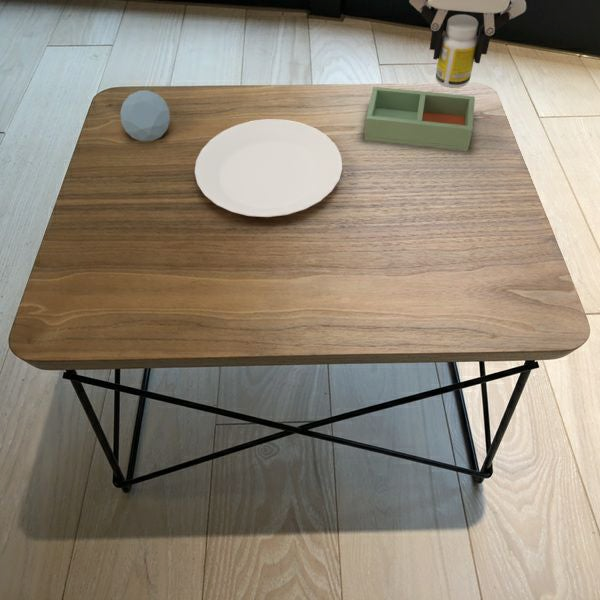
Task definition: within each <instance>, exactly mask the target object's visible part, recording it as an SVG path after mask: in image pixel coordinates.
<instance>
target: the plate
mask: <svg viewBox="0 0 600 600" xmlns="http://www.w3.org/2000/svg"><path fill="white" fill-rule="evenodd" d="M343 169H344V167H343V159H342V154H341V152H340V149H339V148H338V146H337V144H336V143H335V142H334V141H333V140H332V139H331V138H330V137H329V136H328V135H327V134H325V133H324V132H322V131H321V130H319V129H318V128H316V127H313V126H310V125H309V124H306V123H304V122H299V121H294V120H290V119H283V118H265V119H264V118H263V119H256V120H250V121H246V122H242V123H239V124H236V125H233V126H231V127H228V128H226V129H225V130H222V131H221V132H219V133H218V134H217V135H214V137H212V138H210V140H208V142H207V143H206V144H205V145H204V147H202V148H201V150H200V152H199V154H198V156H197V158H196V159H195V166H194V177H195V180H196V184H197V186H198V187H199V189H200V190H201V192H202V193H203V195H204V196H205V197H206V198H208V200H209V201H211V202H212V203H213V204H215V205H216V206H218V207H220V208H222V209H224V210H227V211H229V212H231V213H234V214H238V215H243V216H247V217H258V218H272V217H281V216H288V215H293V214H295V213H297V212H301V211H305V210H307V209H309V208H310V207H312V206H314V205H316V204H318V203H320V202H321V201H322V200H323V199H325V198H326V197H327V196H328V195H329V194H331V193H332V192H333V190H334V188H335V187H336V186H337V184H338V182H339V181H340V179H341V175H342V172H343Z"/></svg>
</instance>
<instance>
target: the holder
mask: <svg viewBox="0 0 600 600" xmlns="http://www.w3.org/2000/svg"><path fill="white" fill-rule="evenodd" d="M475 99H476V97H475V96H471V95H463V94H454V93H452V94H451V93H443V92H431V91H424V90H423V91H421V90H413V89H402V88H401V89H400V88H391V87H382V86H381V87H380V86H373V87H372V91H371V95H370V99H369V104H368V108H367V111H366V117H365V126H364V127H365V128H364V138H363V139H364V141H373V142H381V143H392V144H399V145H400V144H401V145H409V146H418V147H427V148H437V149H445V150H453V151H454V150H455V151H462V152H468V151H469V147H470V144H471V139H472V136H473V130H474V117H475V116H474V115H475Z"/></svg>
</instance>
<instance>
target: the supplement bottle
mask: <svg viewBox="0 0 600 600" xmlns="http://www.w3.org/2000/svg"><path fill="white" fill-rule="evenodd" d="M478 27H479V21H478V20H477V18H476V17H474V16H473V15H468V14H455V15H452V16H450V17H449V18H448V19H447V23H446V27H445V32H443V36H442V42H441V48H440V54H439V59H437V65H436V66H437V67H436V72H435V80H436V82H437V83H438V84H439V85H441V86H443V87H445V88H448V89H449V88H450V89H460V88H463V87H465V86H467V85H468V84H469V82H470V81H471V77H472V72H473V67H474V63H475V62H474V57H475V53H476V48H477V43H478V35H477V34H478Z"/></svg>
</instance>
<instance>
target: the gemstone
mask: <svg viewBox="0 0 600 600" xmlns="http://www.w3.org/2000/svg"><path fill="white" fill-rule="evenodd" d="M119 114H120V115H119V116H120V123H121V126H122V127H123V129H124V131H125V133H127V135H129V136H130V137H131V138H132V139H133V140H137V141H139V142H153V141H156V140H158V139H160V138H162V136H163V135H164V134H165V133H166V132H167V130H168V128H169V125H170V123H171V122H170V121H171V114H170V109H169V106H168V104H167V102H166V100H165V99H164V98H163V97H161V95H160V94H158V93H156V92H153V91H151V90H137V91H135V92H132V93H131V94H129V95H128V96H127V97H126V99H125V100H123V102H122V104H121V109H120V112H119Z"/></svg>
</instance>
